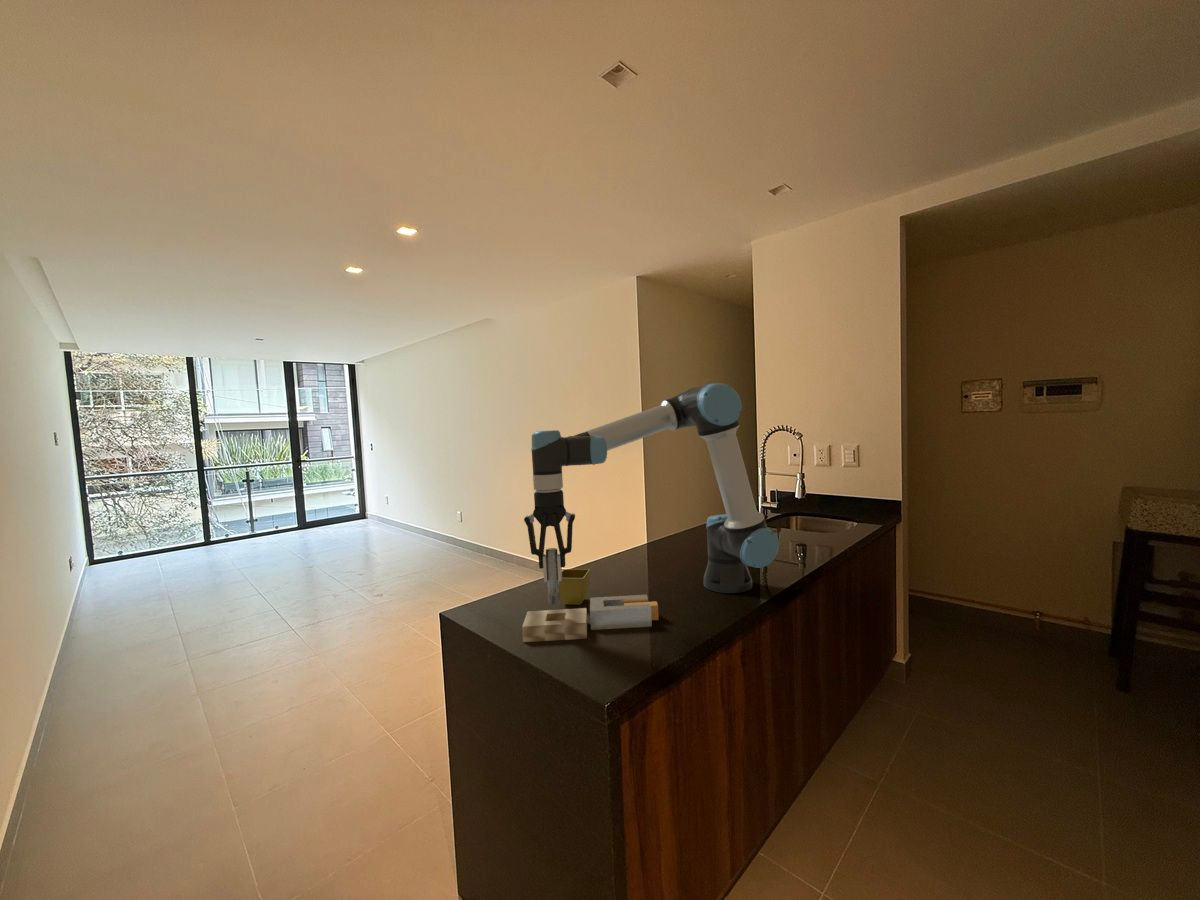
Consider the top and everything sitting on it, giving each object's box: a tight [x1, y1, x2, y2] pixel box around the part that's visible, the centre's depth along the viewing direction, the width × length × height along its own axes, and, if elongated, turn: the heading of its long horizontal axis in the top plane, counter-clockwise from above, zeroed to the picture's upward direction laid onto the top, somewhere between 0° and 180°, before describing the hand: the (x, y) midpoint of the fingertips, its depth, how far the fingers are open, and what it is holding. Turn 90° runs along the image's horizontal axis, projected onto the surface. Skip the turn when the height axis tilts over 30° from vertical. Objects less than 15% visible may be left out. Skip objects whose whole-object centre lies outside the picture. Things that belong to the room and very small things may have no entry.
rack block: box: [521, 607, 588, 643], centre depth 124 cm, size 16×10×4 cm, turn 91°
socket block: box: [589, 594, 653, 631], centre depth 129 cm, size 16×10×5 cm, turn 91°
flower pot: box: [559, 568, 591, 606], centre depth 145 cm, size 9×9×9 cm
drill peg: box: [545, 547, 561, 606], centre depth 124 cm, size 3×3×14 cm
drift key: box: [624, 600, 660, 621], centre depth 129 cm, size 9×3×4 cm, turn 91°
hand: (553, 579), depth 124 cm, fingers closed on drill peg, 3 cm apart
